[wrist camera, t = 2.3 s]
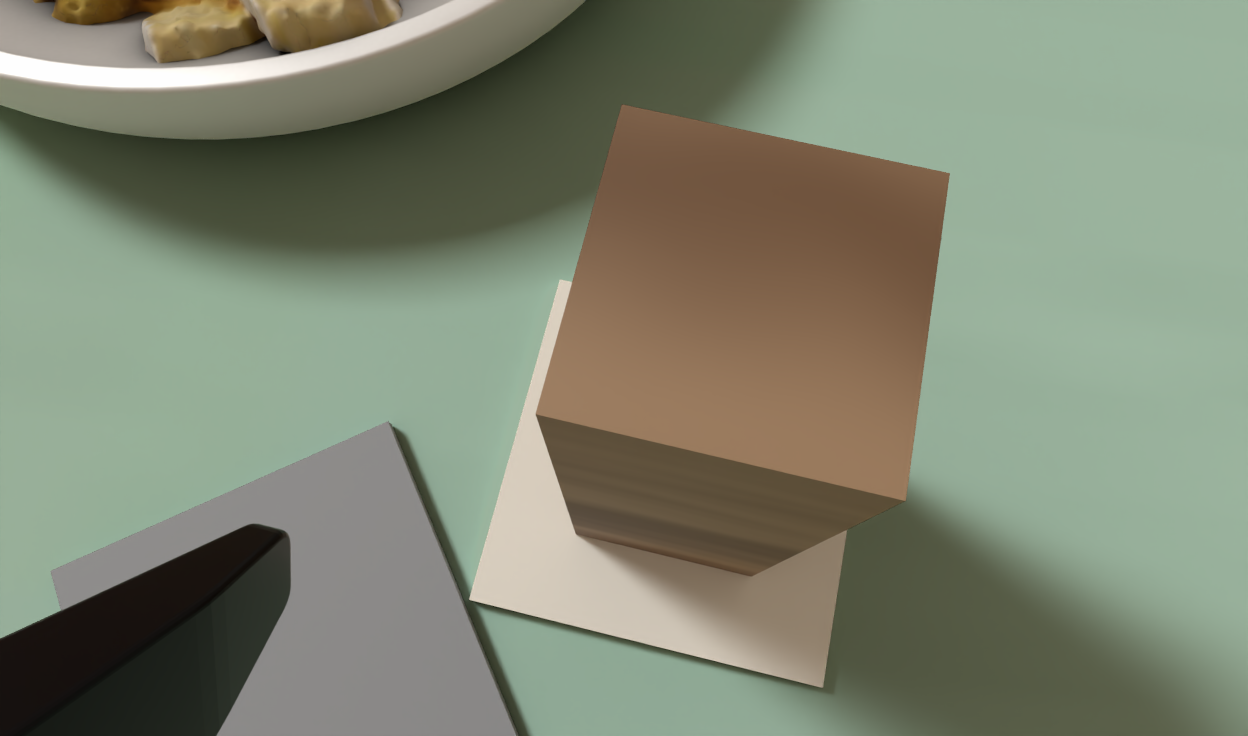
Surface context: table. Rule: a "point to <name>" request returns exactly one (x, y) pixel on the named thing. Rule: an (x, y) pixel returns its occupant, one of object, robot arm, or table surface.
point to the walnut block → (741, 342)
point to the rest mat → (337, 601)
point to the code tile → (647, 572)
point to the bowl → (249, 59)
